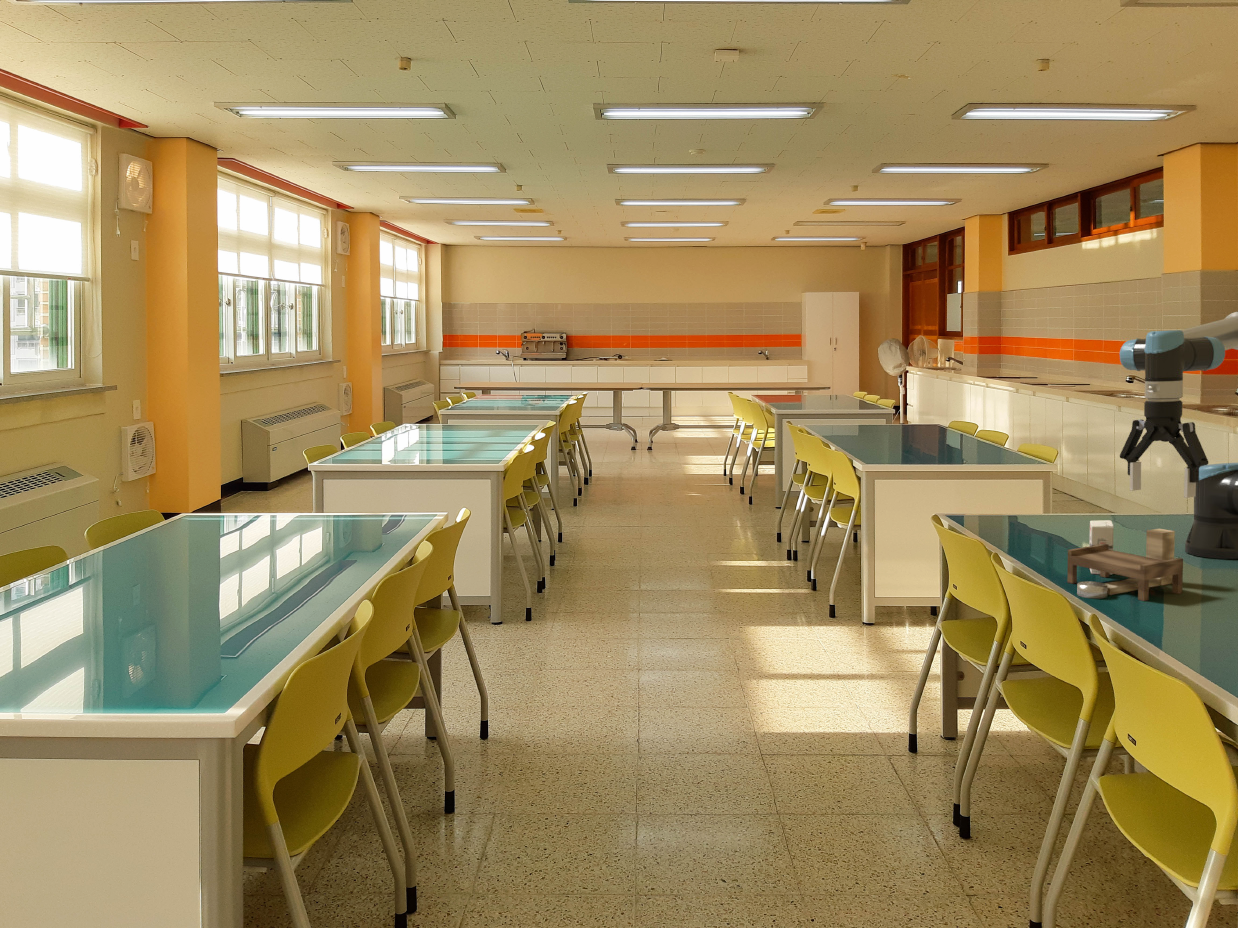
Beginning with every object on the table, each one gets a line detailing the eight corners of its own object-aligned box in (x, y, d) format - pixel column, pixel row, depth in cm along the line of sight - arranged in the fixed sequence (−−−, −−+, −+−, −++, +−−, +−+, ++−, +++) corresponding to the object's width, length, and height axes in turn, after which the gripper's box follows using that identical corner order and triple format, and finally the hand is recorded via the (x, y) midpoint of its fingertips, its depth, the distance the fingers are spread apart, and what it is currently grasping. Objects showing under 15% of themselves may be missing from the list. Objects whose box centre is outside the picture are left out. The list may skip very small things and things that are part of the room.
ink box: (1088, 566, 245) (1089, 519, 243) (1110, 567, 243) (1111, 519, 242) (1090, 574, 237) (1091, 525, 235) (1113, 575, 235) (1114, 526, 234)
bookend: (1157, 579, 229) (1158, 528, 228) (1173, 582, 226) (1174, 531, 224) (1095, 591, 221) (1096, 538, 220) (1111, 595, 218) (1111, 541, 216)
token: (1091, 591, 222) (1092, 580, 222) (1113, 597, 217) (1113, 585, 216) (1071, 594, 220) (1071, 583, 220) (1092, 600, 215) (1092, 589, 214)
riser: (1104, 575, 235) (1104, 543, 234) (1182, 593, 217) (1183, 558, 216) (1067, 582, 230) (1067, 549, 229) (1143, 600, 212) (1144, 565, 211)
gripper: (1103, 399, 232) (1103, 488, 234) (1204, 402, 209) (1202, 501, 211) (1126, 397, 235) (1125, 485, 237) (1228, 400, 212) (1225, 498, 214)
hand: (1161, 493), depth 224 cm, fingers open, 13 cm apart
